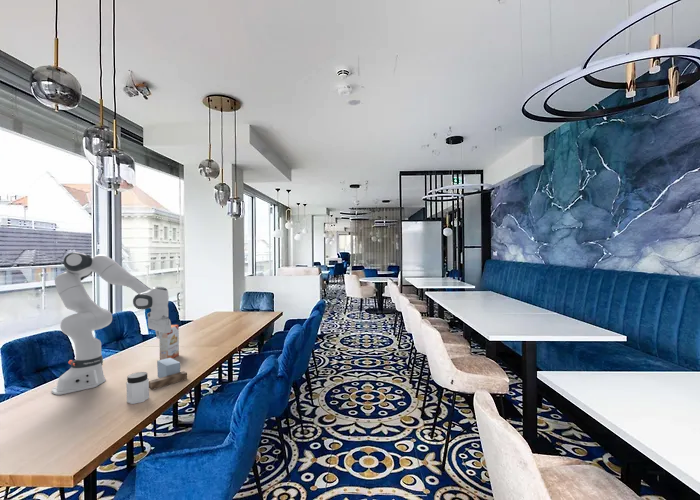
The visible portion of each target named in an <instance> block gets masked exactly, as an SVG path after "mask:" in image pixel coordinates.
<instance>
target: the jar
mask: <svg viewBox="0 0 700 500" xmlns="http://www.w3.org/2000/svg"><path fill="white" fill-rule="evenodd" d="M149 379H150V378H148V372H146V371H138V372H134V373H131V374H129V375H128V376H127V379H126V383H125V384H126V403H128V404H130V405H135V404H140V403H144V402H145V401H147V400H148V399H149V398H150V388H149V381H150V380H149Z"/></svg>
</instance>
